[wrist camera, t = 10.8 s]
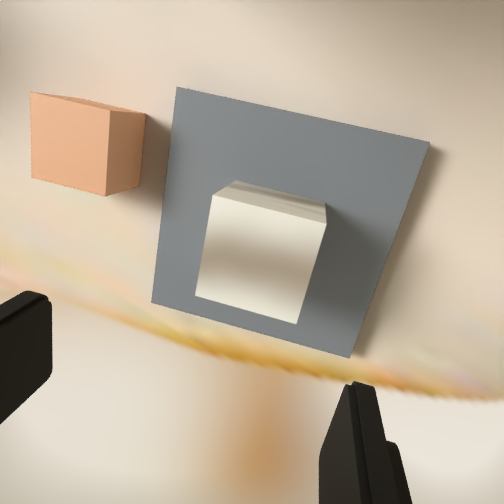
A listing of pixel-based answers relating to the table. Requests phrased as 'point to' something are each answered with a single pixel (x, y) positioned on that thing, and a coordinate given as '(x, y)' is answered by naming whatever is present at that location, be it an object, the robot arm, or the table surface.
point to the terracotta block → (85, 144)
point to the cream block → (260, 249)
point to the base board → (293, 182)
